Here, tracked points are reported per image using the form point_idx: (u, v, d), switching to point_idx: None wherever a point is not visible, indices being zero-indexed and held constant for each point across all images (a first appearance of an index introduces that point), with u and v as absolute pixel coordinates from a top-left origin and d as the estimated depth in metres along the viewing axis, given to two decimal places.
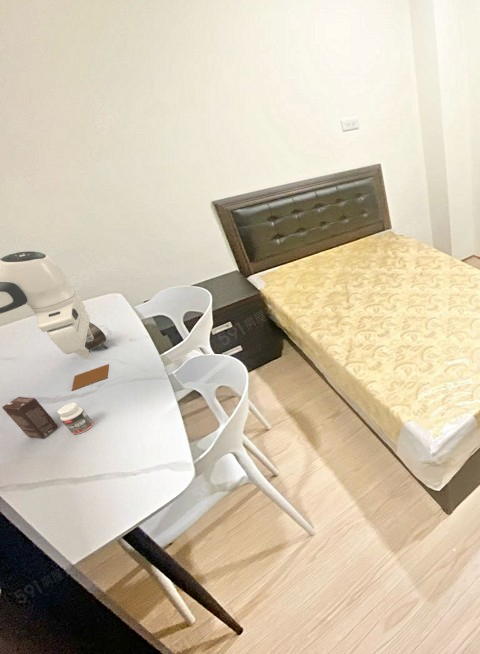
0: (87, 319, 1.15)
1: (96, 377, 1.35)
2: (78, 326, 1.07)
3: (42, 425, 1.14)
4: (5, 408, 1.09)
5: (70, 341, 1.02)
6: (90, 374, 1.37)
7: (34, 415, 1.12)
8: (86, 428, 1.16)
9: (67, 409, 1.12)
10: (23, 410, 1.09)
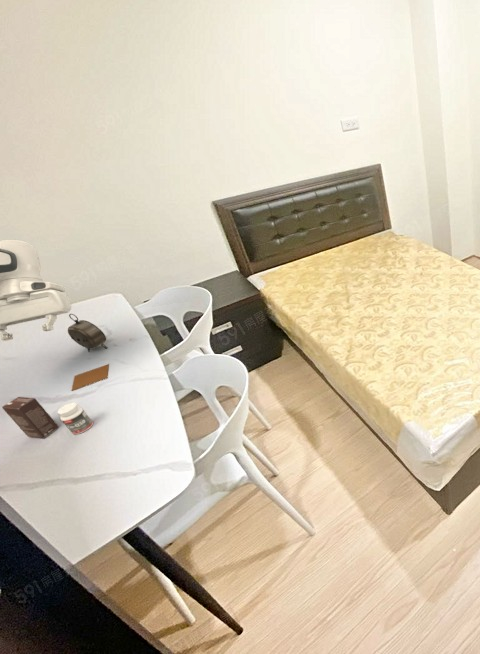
0: None
1: (96, 377, 1.35)
2: None
3: (42, 425, 1.14)
4: (5, 408, 1.09)
5: (67, 300, 1.23)
6: (90, 374, 1.37)
7: (34, 415, 1.12)
8: (86, 428, 1.16)
9: (67, 409, 1.12)
10: (23, 410, 1.09)
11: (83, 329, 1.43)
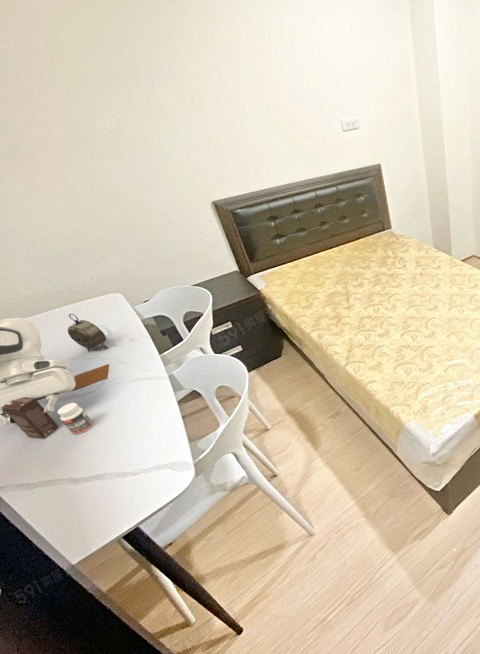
0: None
1: (96, 377, 1.35)
2: None
3: (42, 425, 1.14)
4: (5, 408, 1.09)
5: (71, 377, 1.19)
6: (90, 374, 1.37)
7: (34, 415, 1.12)
8: (86, 428, 1.16)
9: (67, 409, 1.12)
10: (23, 410, 1.09)
11: (83, 329, 1.43)
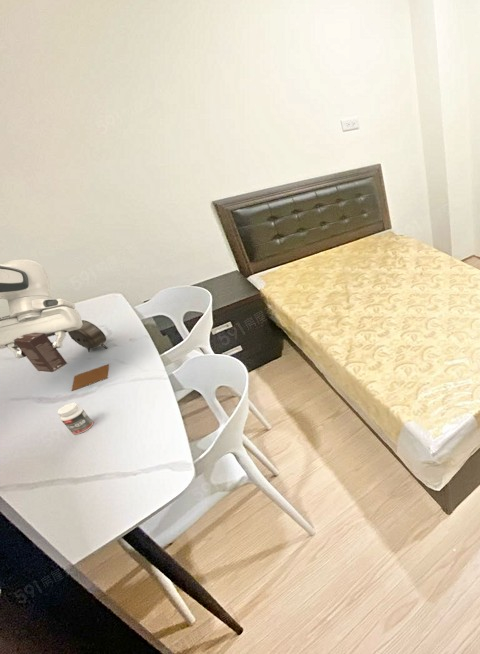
0: None
1: (96, 377, 1.35)
2: None
3: (51, 360, 1.20)
4: (16, 341, 1.16)
5: (78, 316, 1.25)
6: (90, 374, 1.37)
7: (44, 349, 1.18)
8: (86, 428, 1.16)
9: (67, 409, 1.12)
10: (33, 343, 1.16)
11: (83, 329, 1.43)
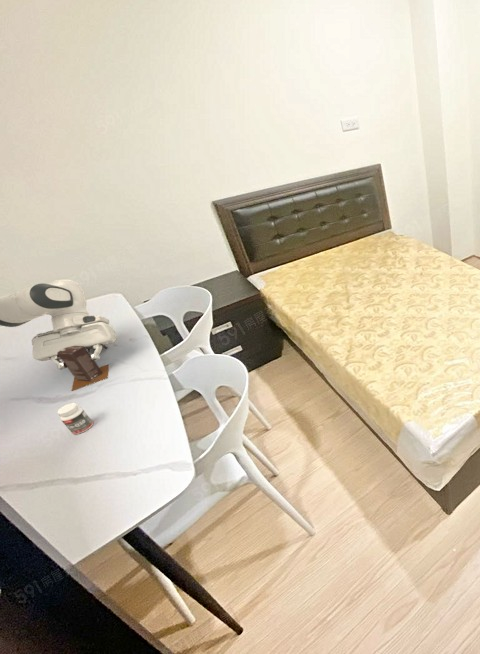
0: None
1: None
2: None
3: (89, 370, 1.33)
4: (60, 353, 1.29)
5: (113, 331, 1.39)
6: None
7: (83, 360, 1.31)
8: (86, 428, 1.16)
9: (67, 409, 1.12)
10: (75, 355, 1.29)
11: None
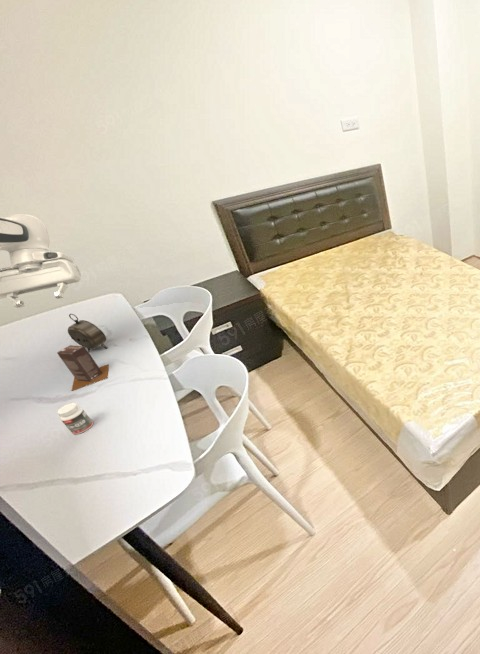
0: None
1: None
2: None
3: (89, 370, 1.33)
4: (60, 353, 1.29)
5: (77, 270, 1.30)
6: None
7: (83, 360, 1.31)
8: (86, 428, 1.16)
9: (67, 409, 1.12)
10: (75, 355, 1.29)
11: (83, 329, 1.43)
